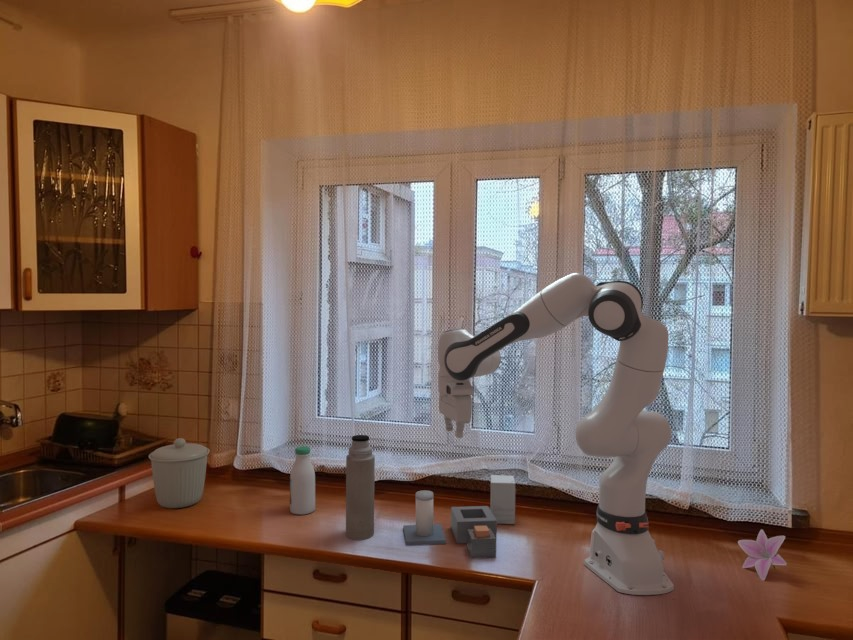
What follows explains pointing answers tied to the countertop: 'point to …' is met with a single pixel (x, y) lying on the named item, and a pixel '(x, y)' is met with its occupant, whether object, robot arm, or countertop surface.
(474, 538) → the frame
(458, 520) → the housing
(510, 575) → the countertop surface
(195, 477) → the canister
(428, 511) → the cylinder
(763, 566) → the lily
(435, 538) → the mat
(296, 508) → the milk bottle
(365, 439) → the thermos bottle
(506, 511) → the supplement box
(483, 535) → the plunger
